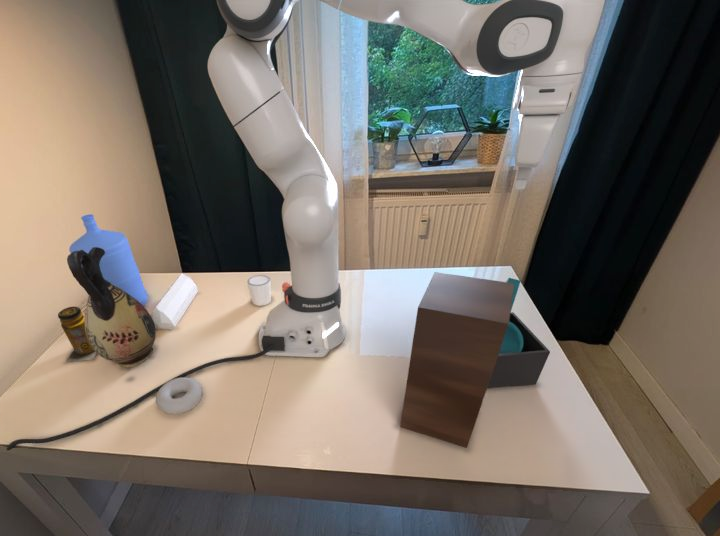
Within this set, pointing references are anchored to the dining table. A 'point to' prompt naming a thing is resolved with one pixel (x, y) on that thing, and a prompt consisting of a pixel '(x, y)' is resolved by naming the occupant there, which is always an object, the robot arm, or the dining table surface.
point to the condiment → (76, 334)
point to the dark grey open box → (520, 361)
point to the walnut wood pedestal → (454, 354)
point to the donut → (182, 403)
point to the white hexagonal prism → (174, 303)
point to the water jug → (113, 258)
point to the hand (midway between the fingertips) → (520, 181)
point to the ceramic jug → (112, 314)
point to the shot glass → (260, 289)
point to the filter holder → (512, 329)
